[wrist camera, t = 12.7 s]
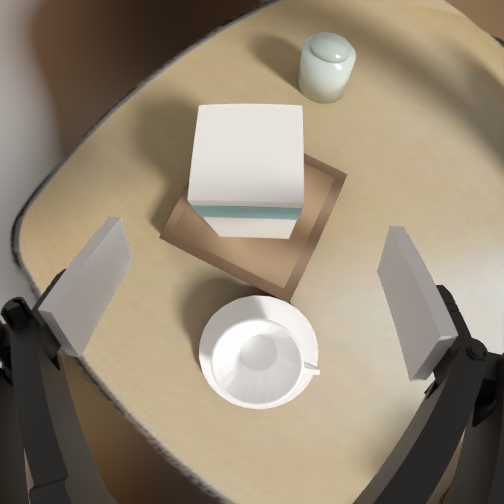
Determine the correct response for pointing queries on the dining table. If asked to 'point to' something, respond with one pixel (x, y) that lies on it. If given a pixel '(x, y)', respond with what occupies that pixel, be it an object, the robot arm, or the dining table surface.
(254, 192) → the milk carton
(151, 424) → the dining table surface
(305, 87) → the celadon jar
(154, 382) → the dining table surface
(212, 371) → the teacup
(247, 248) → the podium
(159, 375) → the dining table surface
